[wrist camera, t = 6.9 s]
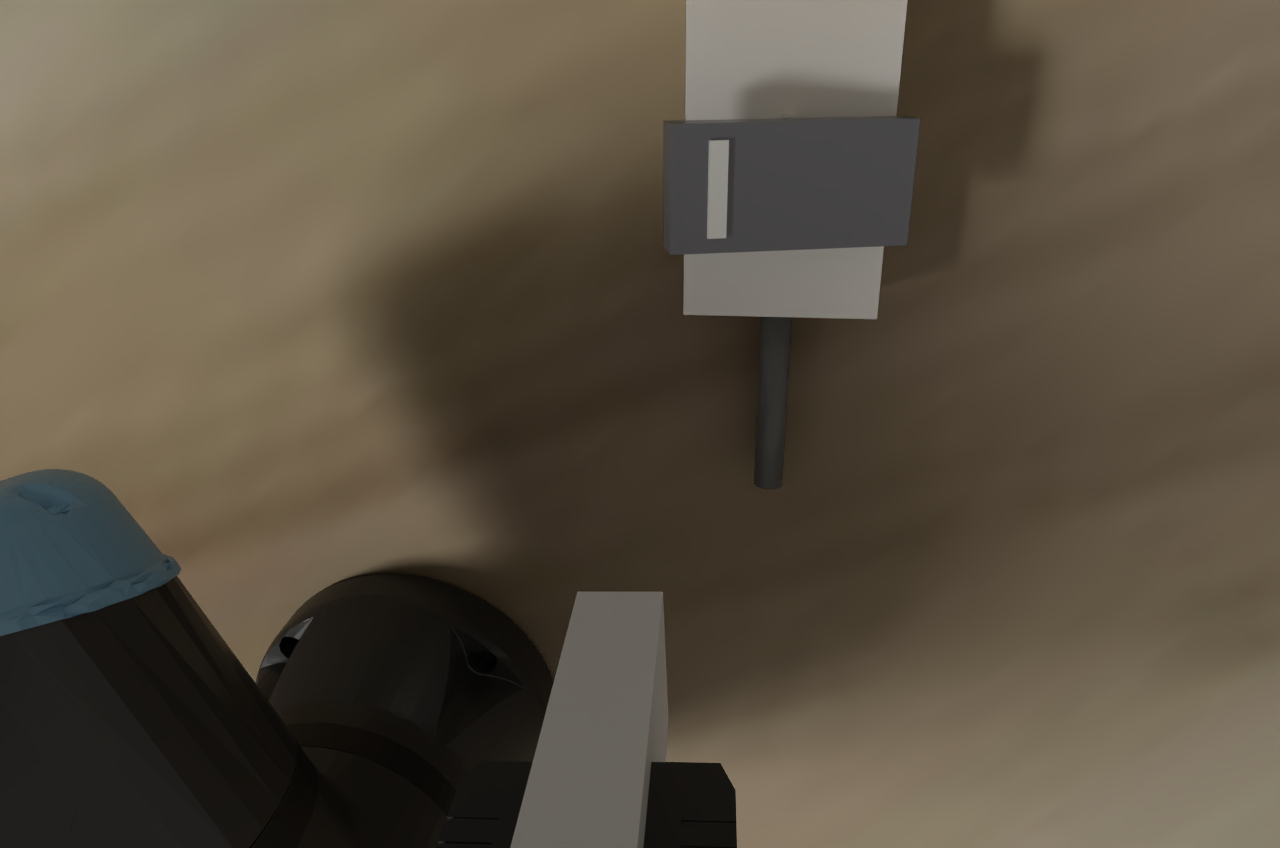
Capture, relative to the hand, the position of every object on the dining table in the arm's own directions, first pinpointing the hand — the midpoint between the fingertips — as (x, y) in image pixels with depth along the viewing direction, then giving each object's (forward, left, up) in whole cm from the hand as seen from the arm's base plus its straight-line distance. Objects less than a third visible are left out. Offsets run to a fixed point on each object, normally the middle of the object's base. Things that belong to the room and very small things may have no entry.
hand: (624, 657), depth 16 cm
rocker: (+3, +6, -17) cm, 18 cm away
